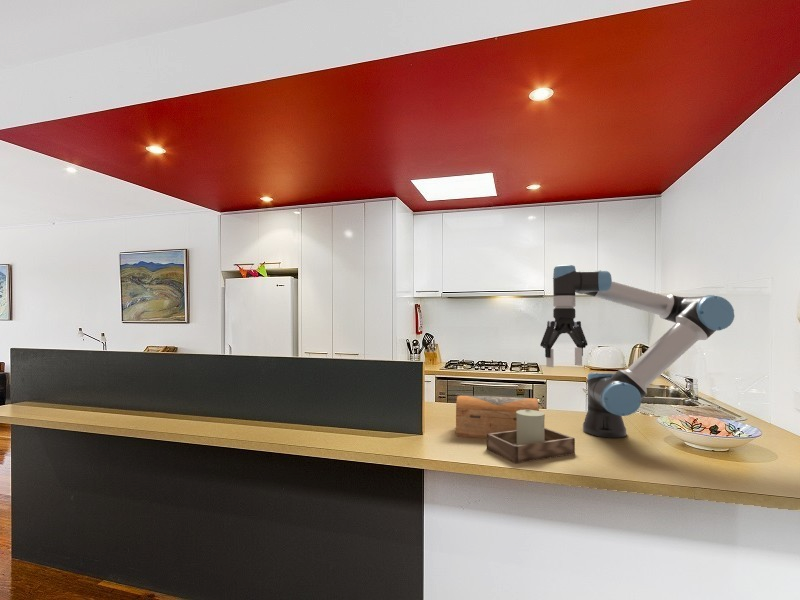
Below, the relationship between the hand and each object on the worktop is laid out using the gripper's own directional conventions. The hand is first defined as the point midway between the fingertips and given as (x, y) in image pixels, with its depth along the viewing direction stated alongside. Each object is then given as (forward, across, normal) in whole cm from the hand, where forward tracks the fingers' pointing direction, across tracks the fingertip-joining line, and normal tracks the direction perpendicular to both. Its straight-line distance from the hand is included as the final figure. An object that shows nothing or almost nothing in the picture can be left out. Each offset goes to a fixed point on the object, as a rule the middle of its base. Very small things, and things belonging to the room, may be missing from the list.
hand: (564, 366), depth 155 cm
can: (+26, +20, +5) cm, 33 cm away
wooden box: (+27, +17, -17) cm, 36 cm away
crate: (+27, +20, +5) cm, 34 cm away
